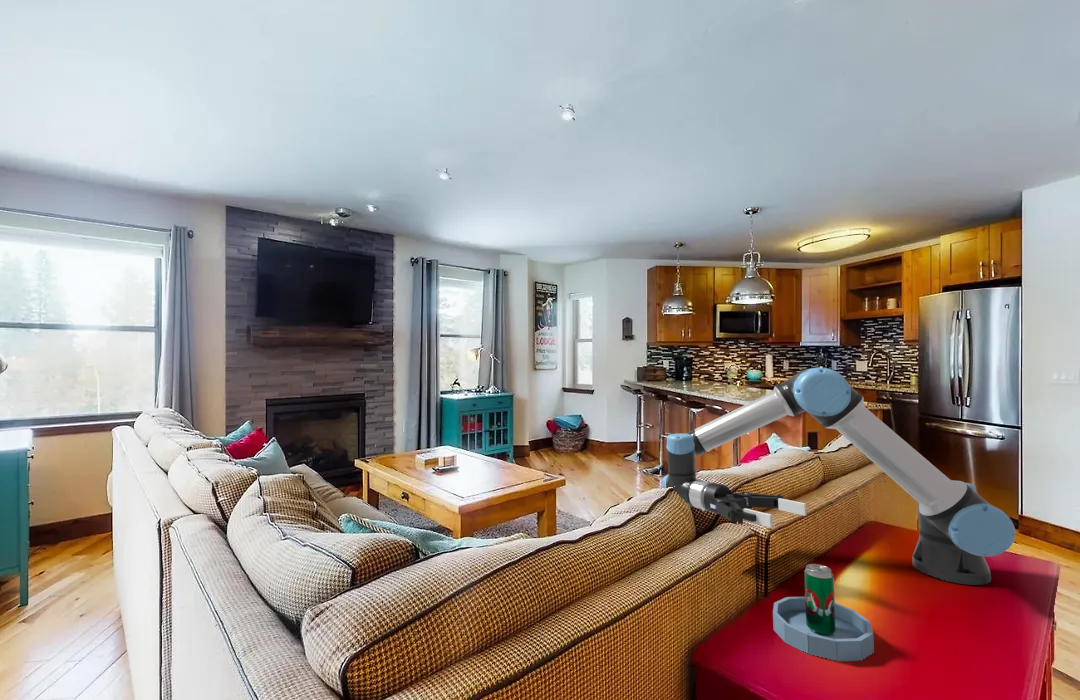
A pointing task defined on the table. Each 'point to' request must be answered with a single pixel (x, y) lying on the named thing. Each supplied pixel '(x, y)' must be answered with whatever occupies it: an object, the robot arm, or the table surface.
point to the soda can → (819, 599)
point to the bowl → (842, 645)
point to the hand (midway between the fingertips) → (789, 515)
